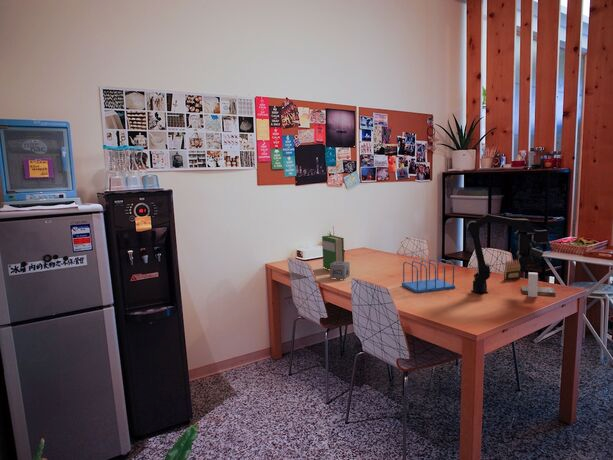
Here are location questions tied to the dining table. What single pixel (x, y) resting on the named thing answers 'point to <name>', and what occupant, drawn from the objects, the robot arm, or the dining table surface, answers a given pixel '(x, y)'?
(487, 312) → the dining table surface
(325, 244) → the hardback book
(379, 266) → the dining table surface
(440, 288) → the file sorter
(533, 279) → the white box
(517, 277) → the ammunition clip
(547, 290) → the plank
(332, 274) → the icon cube
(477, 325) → the dining table surface
